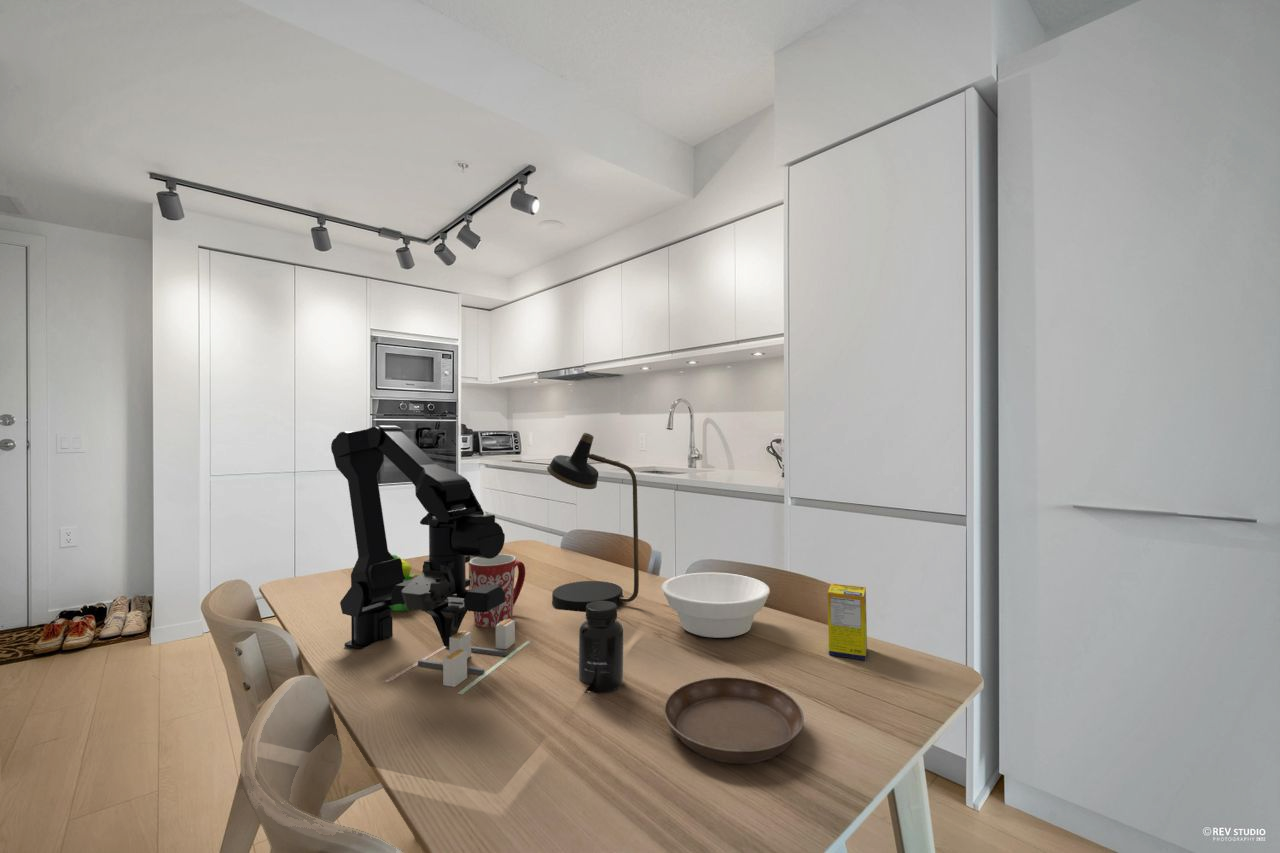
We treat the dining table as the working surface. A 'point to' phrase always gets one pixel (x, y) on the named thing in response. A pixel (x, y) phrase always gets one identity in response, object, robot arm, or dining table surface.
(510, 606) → the mug
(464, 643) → the block
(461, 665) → the block
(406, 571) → the fruit basket
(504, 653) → the panel
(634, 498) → the lamp
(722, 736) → the plant saucer
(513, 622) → the block
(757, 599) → the bowl
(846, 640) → the supplement box
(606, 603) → the supplement bottle
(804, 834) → the dining table surface
